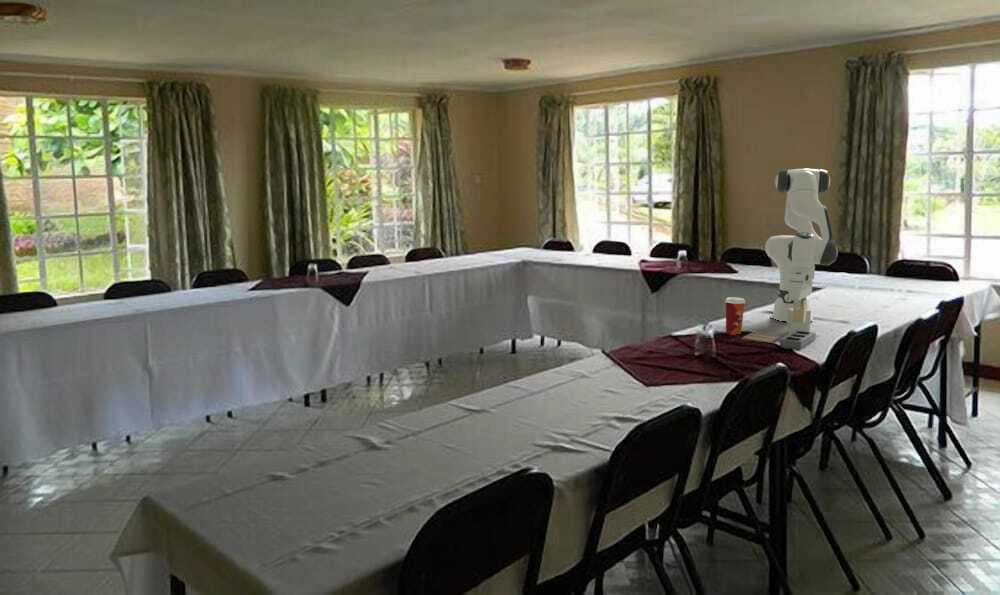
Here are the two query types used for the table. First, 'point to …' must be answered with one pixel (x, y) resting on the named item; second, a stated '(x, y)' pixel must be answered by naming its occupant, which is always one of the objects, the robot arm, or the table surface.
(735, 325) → the coffee cup
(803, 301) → the peg
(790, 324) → the small box
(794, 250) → the robot arm
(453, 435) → the table surface
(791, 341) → the grey slotted block
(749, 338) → the pad
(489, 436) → the table surface
